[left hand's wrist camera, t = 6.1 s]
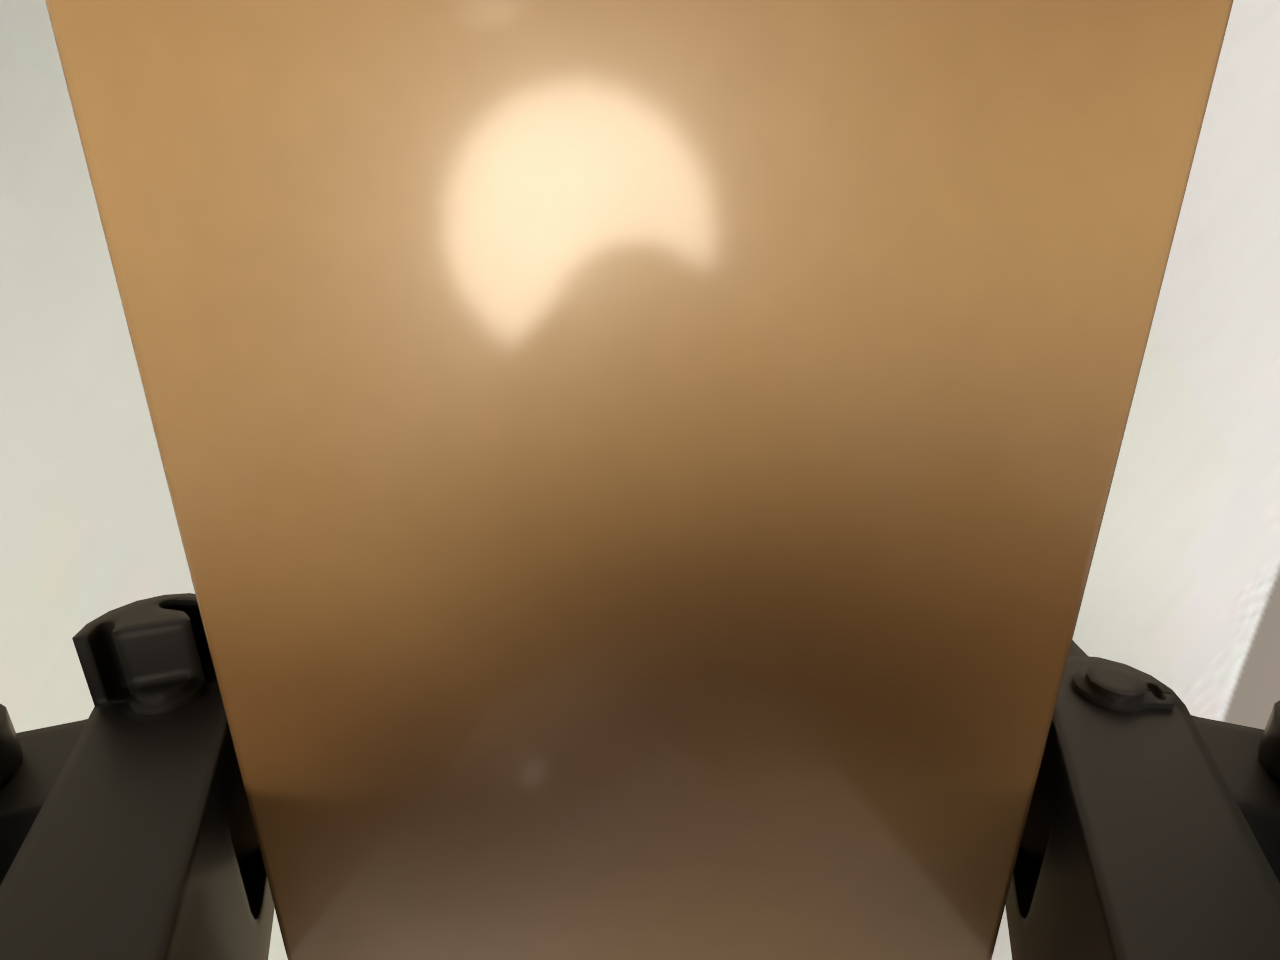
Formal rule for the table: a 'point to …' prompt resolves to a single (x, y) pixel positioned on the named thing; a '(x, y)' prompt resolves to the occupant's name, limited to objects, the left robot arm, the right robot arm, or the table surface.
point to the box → (639, 438)
